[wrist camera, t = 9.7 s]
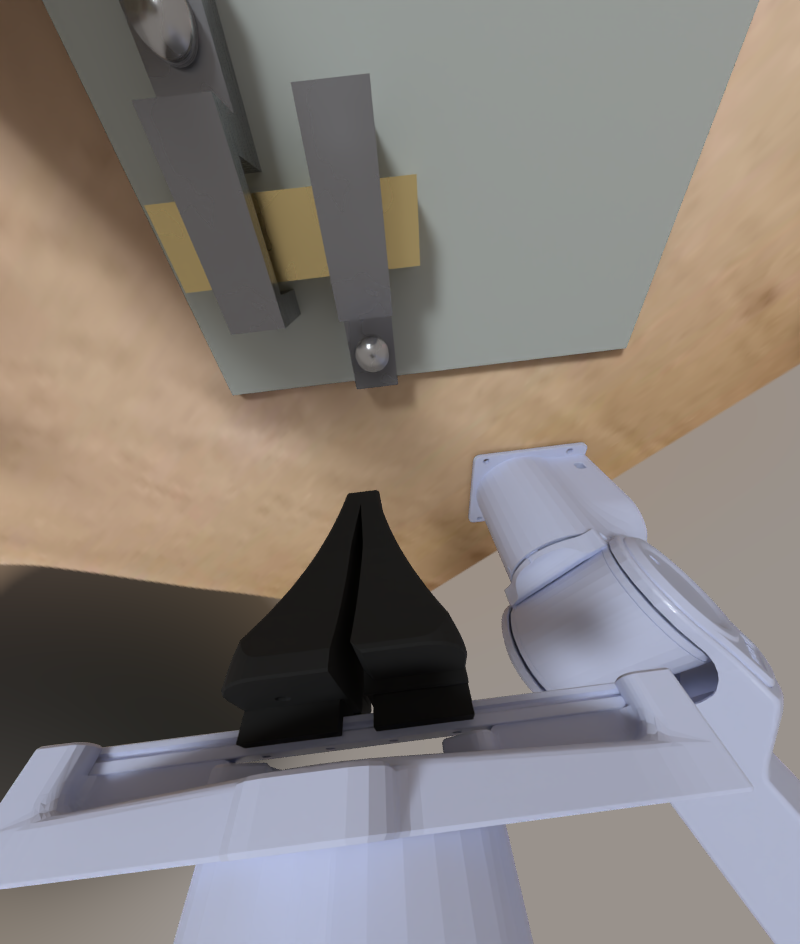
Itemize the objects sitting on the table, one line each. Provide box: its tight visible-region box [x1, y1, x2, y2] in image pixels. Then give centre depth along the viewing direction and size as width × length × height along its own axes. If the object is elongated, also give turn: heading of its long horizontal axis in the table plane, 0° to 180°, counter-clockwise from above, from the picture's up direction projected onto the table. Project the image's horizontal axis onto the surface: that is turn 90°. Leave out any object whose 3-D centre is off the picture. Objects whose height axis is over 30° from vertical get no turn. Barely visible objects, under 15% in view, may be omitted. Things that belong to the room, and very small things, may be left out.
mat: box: [42, 0, 759, 395], centre depth 14 cm, size 26×15×1 cm, turn 95°
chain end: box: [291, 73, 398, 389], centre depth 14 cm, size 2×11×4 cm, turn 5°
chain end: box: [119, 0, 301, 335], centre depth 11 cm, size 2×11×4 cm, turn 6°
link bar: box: [144, 174, 420, 293], centre depth 13 cm, size 11×3×2 cm, turn 95°
